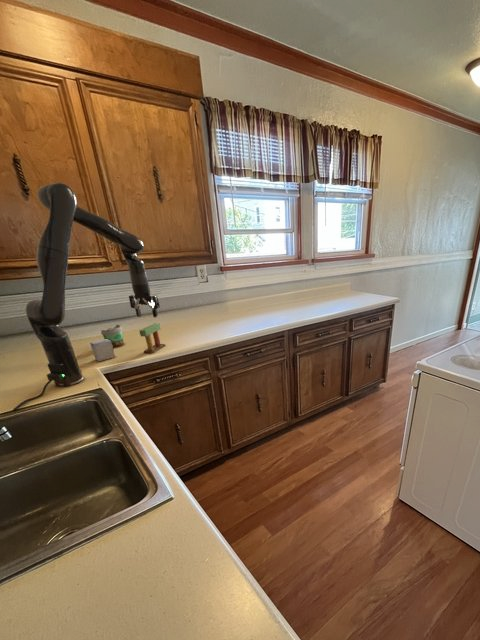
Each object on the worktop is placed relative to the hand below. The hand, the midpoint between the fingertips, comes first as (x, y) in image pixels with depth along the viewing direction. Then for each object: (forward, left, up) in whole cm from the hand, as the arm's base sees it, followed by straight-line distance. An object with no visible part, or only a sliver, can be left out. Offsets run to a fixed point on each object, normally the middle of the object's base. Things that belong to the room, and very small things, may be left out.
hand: (147, 316), depth 164 cm
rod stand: (0, 0, -17) cm, 17 cm away
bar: (0, 0, -8) cm, 8 cm away
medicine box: (-16, +17, -17) cm, 29 cm away
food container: (+3, +23, -17) cm, 29 cm away
